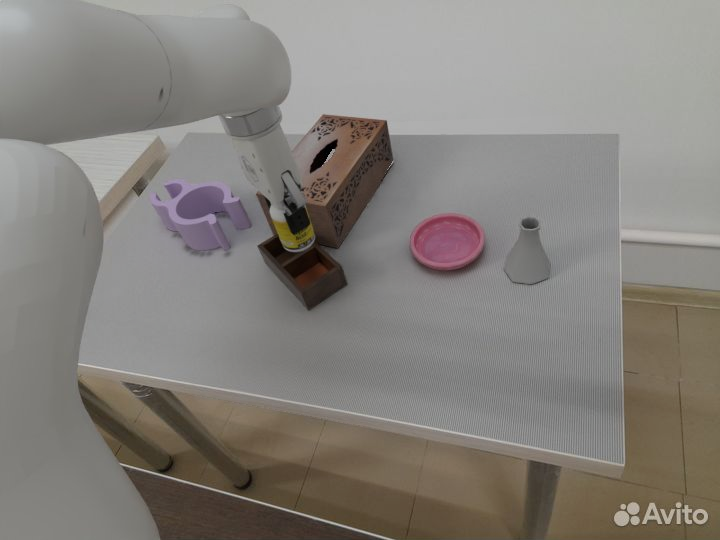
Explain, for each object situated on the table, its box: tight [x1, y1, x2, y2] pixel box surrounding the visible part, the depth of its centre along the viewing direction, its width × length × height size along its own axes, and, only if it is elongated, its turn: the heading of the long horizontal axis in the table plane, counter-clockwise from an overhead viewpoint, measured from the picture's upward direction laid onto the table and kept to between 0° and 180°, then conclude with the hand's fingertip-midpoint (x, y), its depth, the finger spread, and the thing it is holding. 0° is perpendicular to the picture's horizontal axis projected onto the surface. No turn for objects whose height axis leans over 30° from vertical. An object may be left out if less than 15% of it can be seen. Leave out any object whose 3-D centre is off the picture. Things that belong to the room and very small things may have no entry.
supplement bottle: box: [270, 188, 315, 252], centre depth 79 cm, size 5×5×10 cm
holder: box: [256, 233, 348, 312], centre depth 91 cm, size 8×15×5 cm, turn 36°
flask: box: [503, 215, 551, 285], centre depth 80 cm, size 7×7×10 cm
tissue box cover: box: [255, 113, 394, 249], centre depth 101 cm, size 26×14×10 cm, turn 154°
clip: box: [148, 178, 252, 251], centre depth 104 cm, size 20×12×7 cm, turn 58°
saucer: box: [409, 212, 486, 271], centre depth 88 cm, size 12×12×3 cm
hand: (290, 218), depth 79 cm, fingers closed on supplement bottle, 5 cm apart
